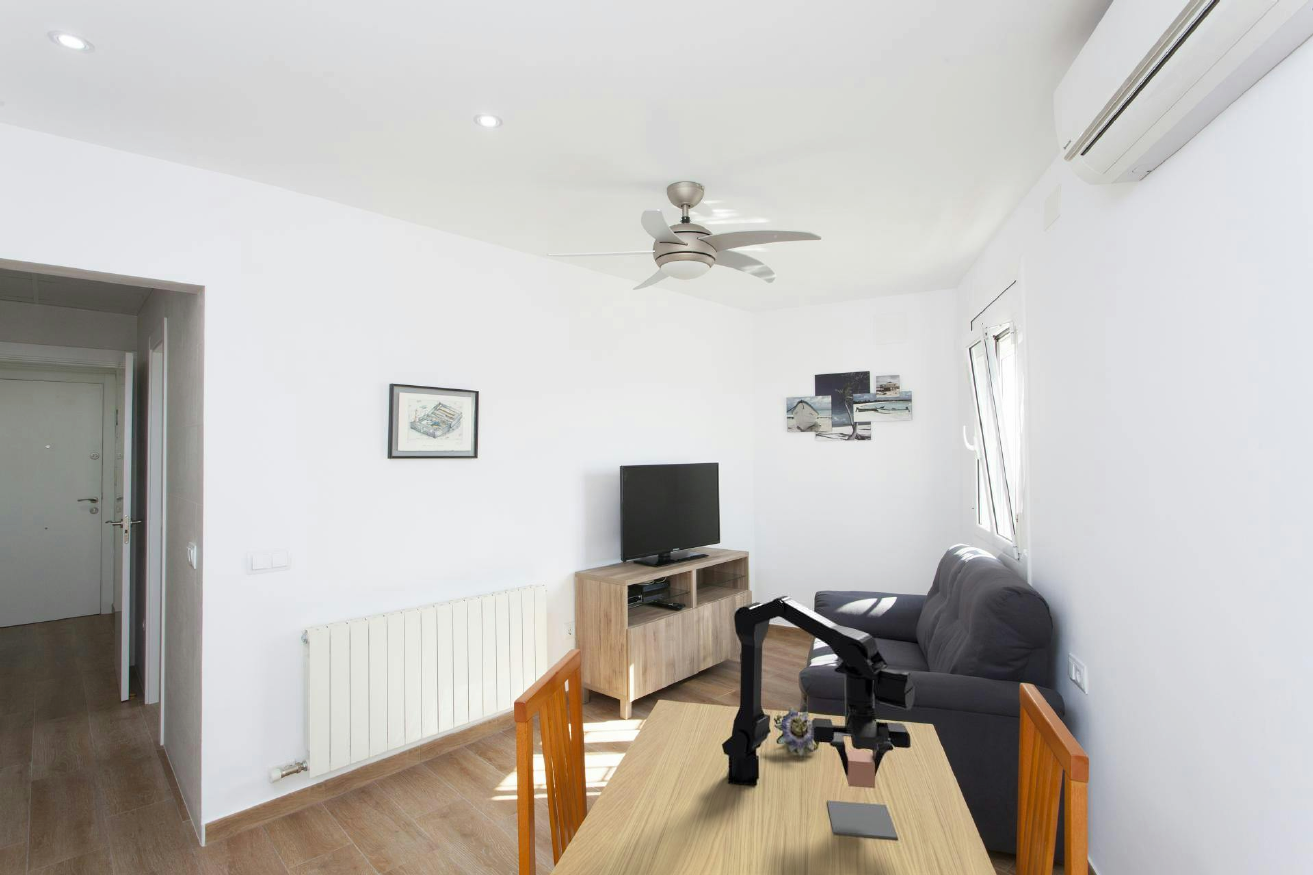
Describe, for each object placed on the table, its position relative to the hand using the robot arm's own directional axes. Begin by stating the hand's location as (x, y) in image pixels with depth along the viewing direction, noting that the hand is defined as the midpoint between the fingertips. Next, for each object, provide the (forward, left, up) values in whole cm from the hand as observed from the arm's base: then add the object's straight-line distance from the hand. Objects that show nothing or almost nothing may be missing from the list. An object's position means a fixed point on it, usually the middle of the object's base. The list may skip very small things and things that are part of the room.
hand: (859, 775), depth 133 cm
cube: (0, 0, -1) cm, 1 cm away
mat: (0, 0, -9) cm, 9 cm away
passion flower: (-11, +32, -9) cm, 35 cm away
